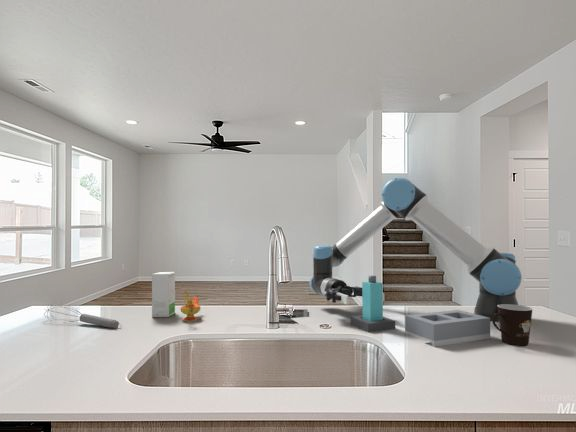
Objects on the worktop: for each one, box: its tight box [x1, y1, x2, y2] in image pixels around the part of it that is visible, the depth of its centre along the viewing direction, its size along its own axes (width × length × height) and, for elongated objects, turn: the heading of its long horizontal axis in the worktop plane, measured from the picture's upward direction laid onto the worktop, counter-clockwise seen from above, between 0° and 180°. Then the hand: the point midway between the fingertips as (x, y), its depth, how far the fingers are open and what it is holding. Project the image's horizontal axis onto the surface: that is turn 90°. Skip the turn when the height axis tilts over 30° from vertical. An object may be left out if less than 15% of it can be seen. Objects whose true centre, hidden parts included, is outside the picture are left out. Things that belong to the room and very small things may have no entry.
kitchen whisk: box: [43, 302, 123, 329], centre depth 131 cm, size 6×34×6 cm, turn 68°
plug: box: [361, 274, 384, 322], centre depth 124 cm, size 4×4×16 cm
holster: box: [350, 314, 396, 333], centre depth 124 cm, size 10×10×4 cm
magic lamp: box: [180, 290, 201, 322], centre depth 140 cm, size 7×18×11 cm, turn 179°
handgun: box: [279, 308, 309, 324], centre depth 142 cm, size 13×2×18 cm
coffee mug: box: [492, 304, 533, 347], centre depth 111 cm, size 12×9×10 cm
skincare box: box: [151, 271, 176, 318], centre depth 145 cm, size 8×7×16 cm
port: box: [404, 309, 491, 348], centre depth 116 cm, size 21×12×6 cm, turn 112°
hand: (365, 298), depth 127 cm, fingers open, 13 cm apart
